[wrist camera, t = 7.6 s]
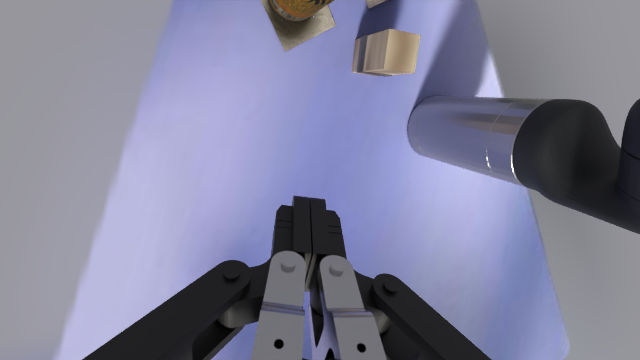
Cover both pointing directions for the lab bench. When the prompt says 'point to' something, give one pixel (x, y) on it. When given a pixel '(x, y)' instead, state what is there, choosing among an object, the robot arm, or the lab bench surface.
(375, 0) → the banded post
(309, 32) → the condiment
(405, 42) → the banded post
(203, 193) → the lab bench surface
